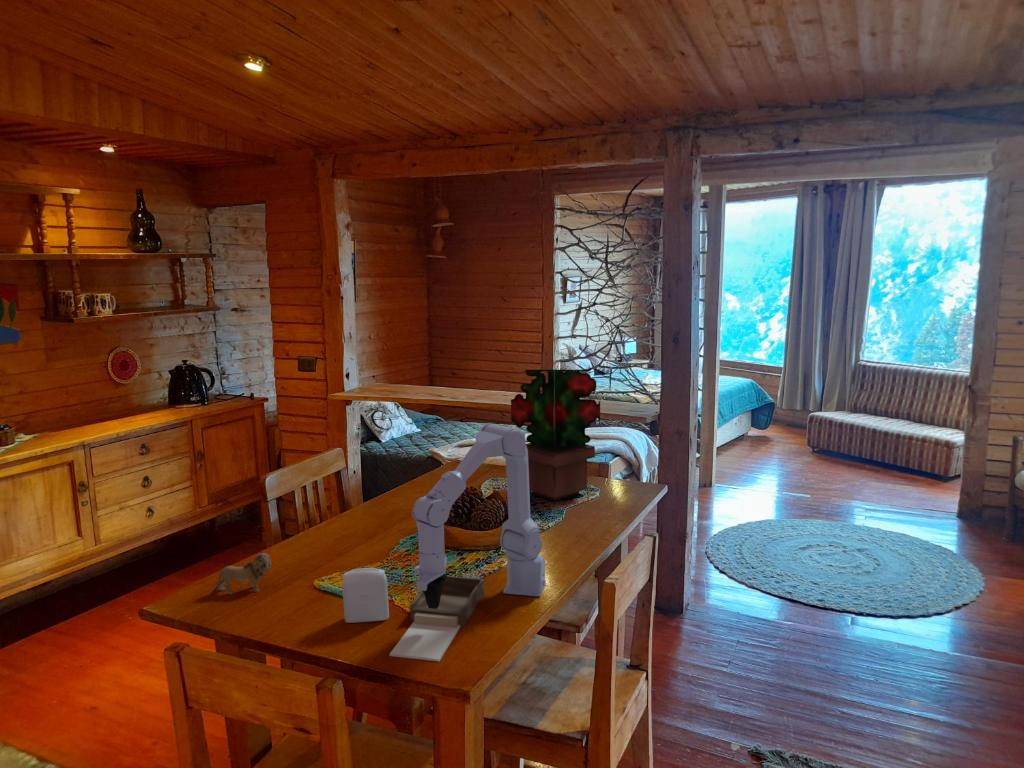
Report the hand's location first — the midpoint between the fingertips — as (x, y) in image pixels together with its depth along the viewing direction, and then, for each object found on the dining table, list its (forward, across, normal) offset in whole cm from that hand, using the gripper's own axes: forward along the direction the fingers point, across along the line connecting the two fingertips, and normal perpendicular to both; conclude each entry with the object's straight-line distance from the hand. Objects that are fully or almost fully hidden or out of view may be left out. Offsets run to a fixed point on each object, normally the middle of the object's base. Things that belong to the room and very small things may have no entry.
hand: (433, 607), depth 164 cm
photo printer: (+5, -1, -17) cm, 18 cm away
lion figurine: (+5, -9, -55) cm, 56 cm away
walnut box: (+5, -10, 0) cm, 12 cm away
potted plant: (+5, -102, +10) cm, 103 cm away
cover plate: (+6, +6, 0) cm, 8 cm away
